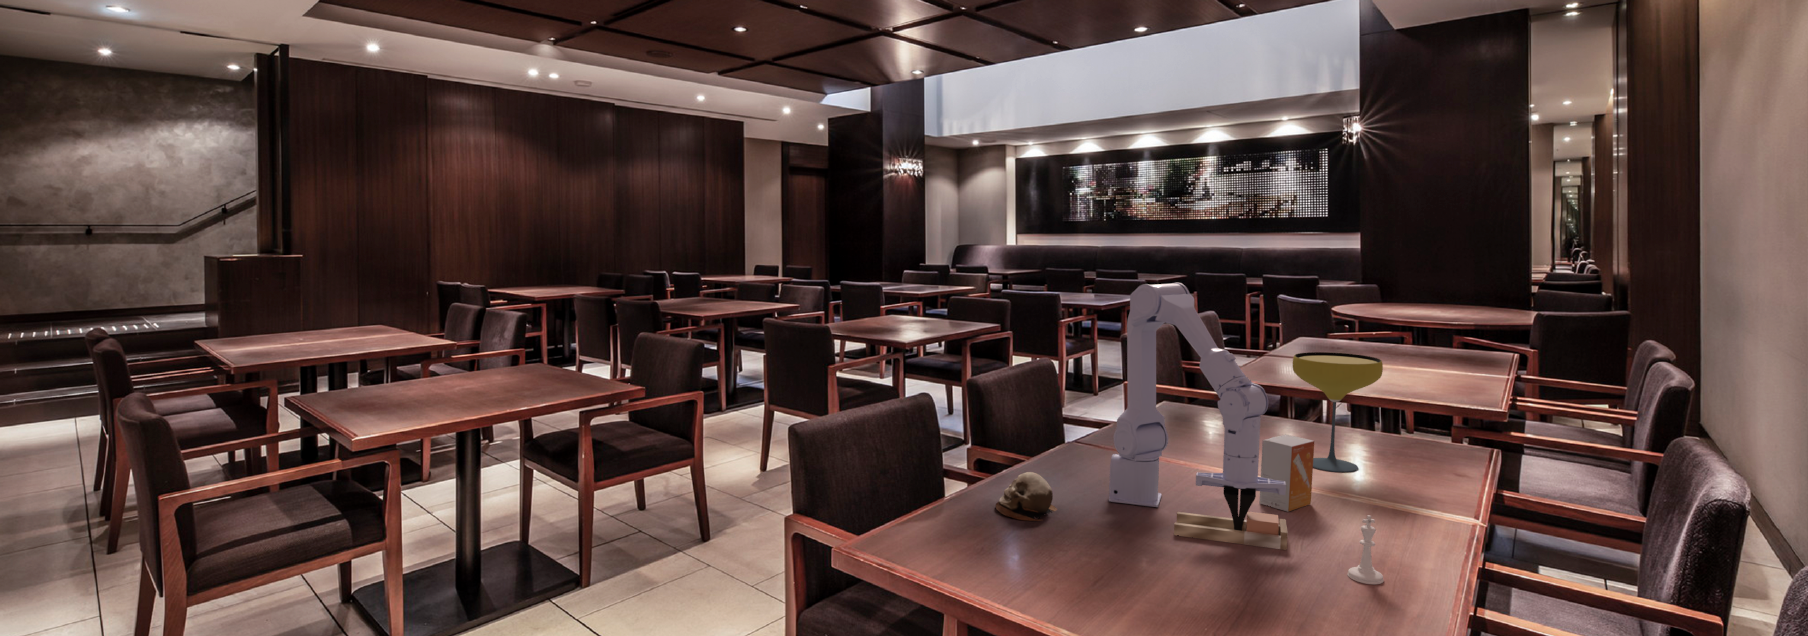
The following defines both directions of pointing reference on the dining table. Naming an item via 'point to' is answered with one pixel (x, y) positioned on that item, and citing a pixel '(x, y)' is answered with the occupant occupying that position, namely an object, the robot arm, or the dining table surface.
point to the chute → (1227, 531)
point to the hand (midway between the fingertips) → (1238, 528)
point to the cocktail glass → (1336, 387)
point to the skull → (1027, 498)
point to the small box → (1288, 471)
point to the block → (1262, 523)
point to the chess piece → (1366, 558)
